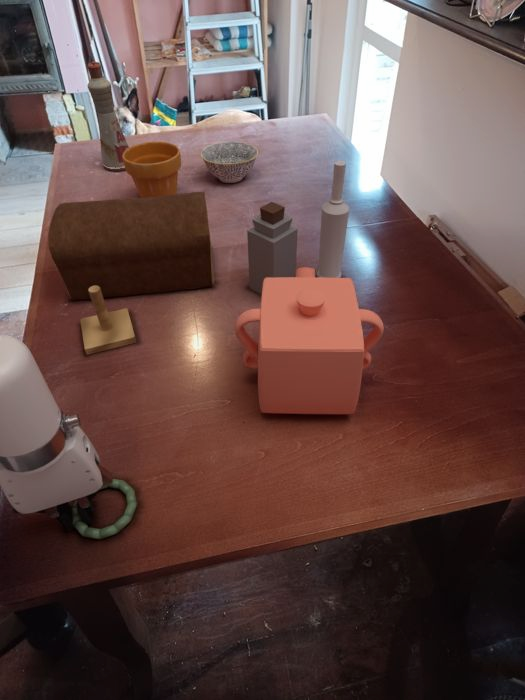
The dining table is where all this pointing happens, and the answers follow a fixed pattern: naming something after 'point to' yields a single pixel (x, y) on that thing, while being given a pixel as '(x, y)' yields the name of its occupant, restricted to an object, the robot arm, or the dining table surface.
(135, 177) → the flower pot
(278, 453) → the dining table surface
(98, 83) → the bottle
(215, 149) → the bowl
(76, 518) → the ring
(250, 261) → the perfume bottle
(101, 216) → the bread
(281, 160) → the dining table surface
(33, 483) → the robot arm
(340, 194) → the bottle
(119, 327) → the stand
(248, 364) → the teapot
